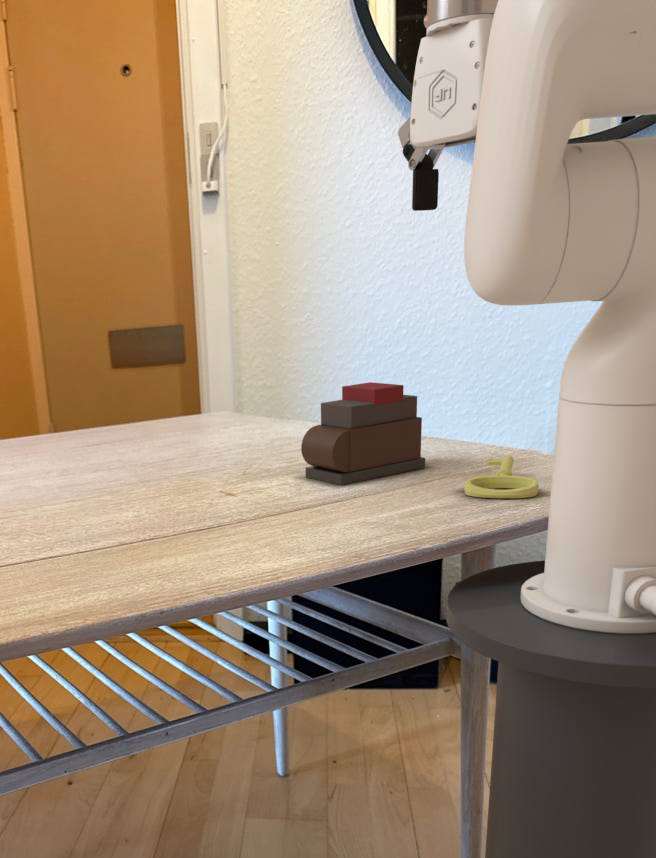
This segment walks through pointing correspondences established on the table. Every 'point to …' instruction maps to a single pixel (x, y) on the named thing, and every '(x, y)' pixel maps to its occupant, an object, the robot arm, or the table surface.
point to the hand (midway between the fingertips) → (458, 205)
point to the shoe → (362, 451)
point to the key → (501, 483)
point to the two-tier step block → (369, 406)
